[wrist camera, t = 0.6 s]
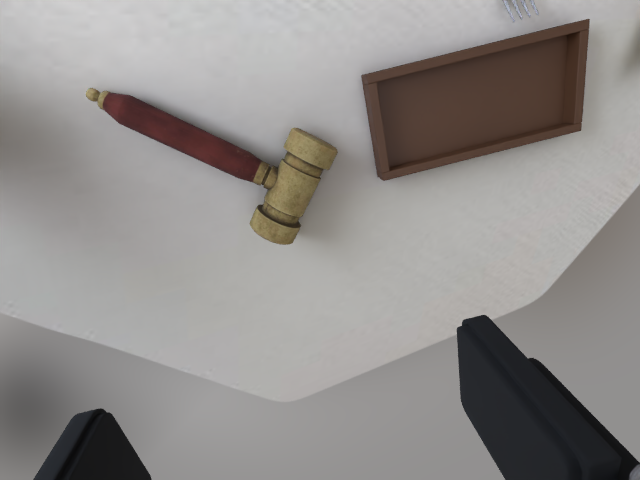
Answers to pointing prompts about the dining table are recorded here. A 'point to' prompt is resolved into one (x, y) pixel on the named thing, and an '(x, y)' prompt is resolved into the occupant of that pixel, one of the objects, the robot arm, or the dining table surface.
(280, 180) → the gavel
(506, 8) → the fork
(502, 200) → the dining table surface
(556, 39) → the tray
